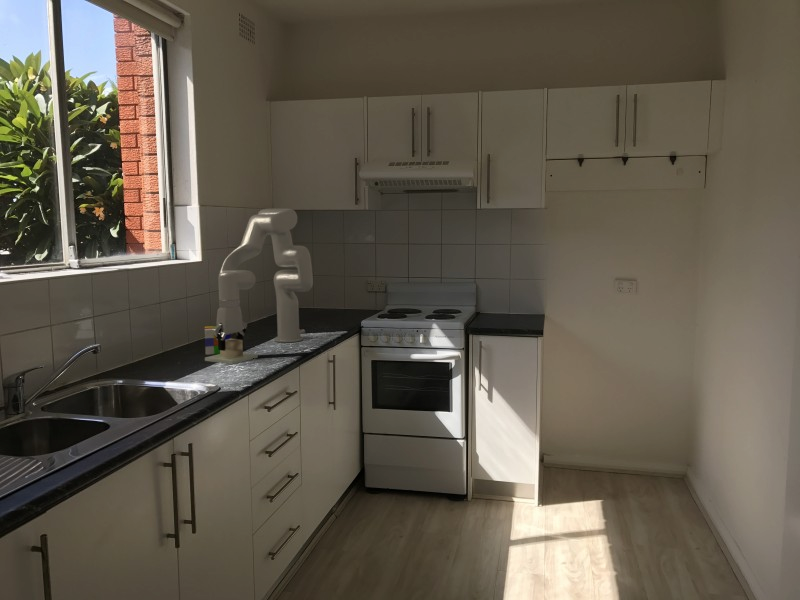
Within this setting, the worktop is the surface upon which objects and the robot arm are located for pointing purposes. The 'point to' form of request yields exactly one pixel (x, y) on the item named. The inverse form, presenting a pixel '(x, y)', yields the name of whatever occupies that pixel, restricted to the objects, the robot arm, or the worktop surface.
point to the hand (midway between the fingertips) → (231, 348)
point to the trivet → (231, 360)
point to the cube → (232, 348)
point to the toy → (212, 341)
